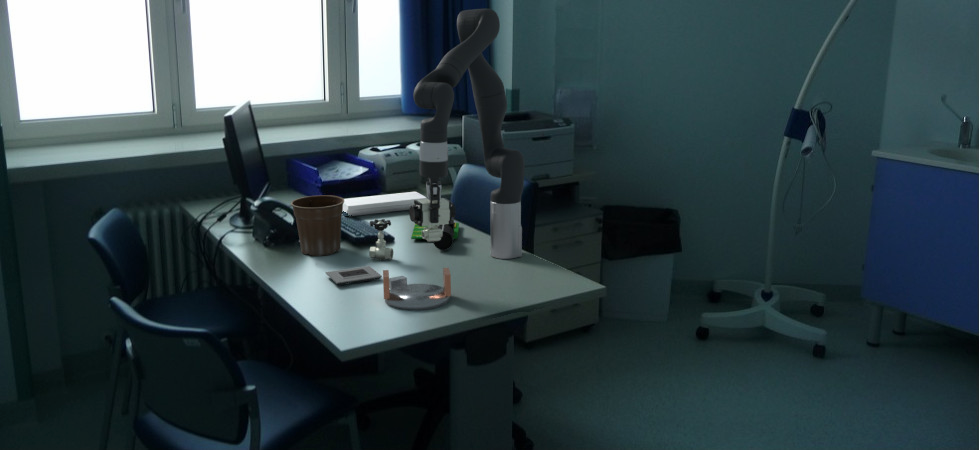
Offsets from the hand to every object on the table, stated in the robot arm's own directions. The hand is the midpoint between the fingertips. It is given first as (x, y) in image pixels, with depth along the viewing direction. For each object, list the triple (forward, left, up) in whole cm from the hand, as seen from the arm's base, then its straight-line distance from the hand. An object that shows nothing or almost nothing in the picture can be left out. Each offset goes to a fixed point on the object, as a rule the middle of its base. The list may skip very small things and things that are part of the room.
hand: (433, 219), depth 240 cm
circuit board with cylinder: (-3, -50, -20) cm, 54 cm away
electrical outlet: (+22, -11, -20) cm, 32 cm away
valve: (+14, -29, -20) cm, 38 cm away
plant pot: (+33, -41, -20) cm, 56 cm away
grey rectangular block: (+10, -3, -20) cm, 23 cm away
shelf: (+13, -89, -20) cm, 92 cm away
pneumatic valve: (0, 0, -6) cm, 6 cm away
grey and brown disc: (+5, +8, -20) cm, 22 cm away
